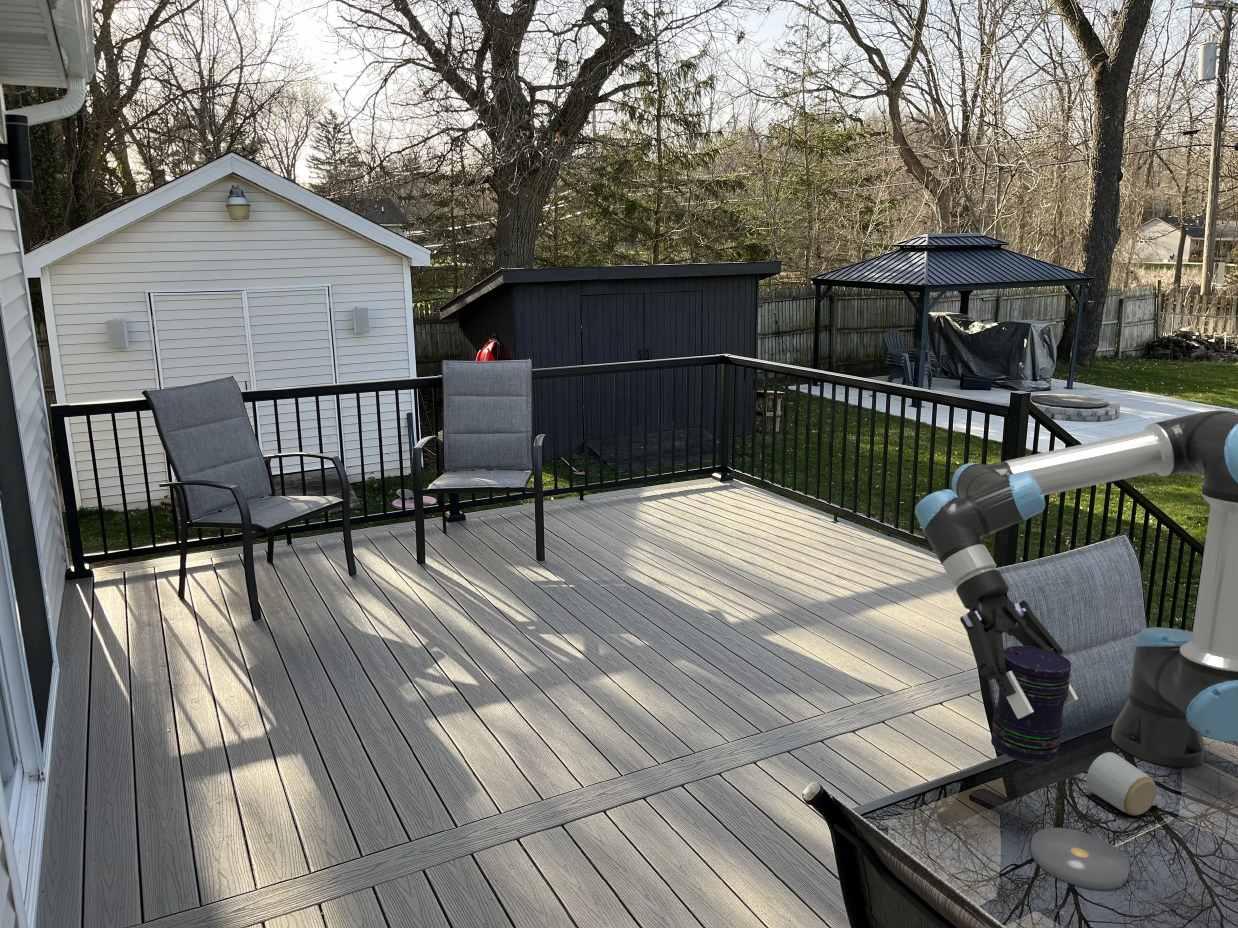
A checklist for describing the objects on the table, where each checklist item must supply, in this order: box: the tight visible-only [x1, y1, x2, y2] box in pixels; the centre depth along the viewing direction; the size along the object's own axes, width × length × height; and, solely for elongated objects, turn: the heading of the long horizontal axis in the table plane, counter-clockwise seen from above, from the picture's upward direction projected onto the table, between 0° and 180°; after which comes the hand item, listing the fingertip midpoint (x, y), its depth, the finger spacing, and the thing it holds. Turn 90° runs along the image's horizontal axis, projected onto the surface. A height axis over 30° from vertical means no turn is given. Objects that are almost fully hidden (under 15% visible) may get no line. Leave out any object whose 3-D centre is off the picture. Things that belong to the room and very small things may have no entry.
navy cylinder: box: [990, 645, 1072, 765], centre depth 143 cm, size 10×10×15 cm
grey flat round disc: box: [1030, 827, 1130, 891], centre depth 136 cm, size 13×13×2 cm
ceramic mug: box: [1086, 752, 1159, 816], centre depth 153 cm, size 11×8×8 cm
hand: (1048, 708), depth 140 cm, fingers closed on navy cylinder, 10 cm apart
